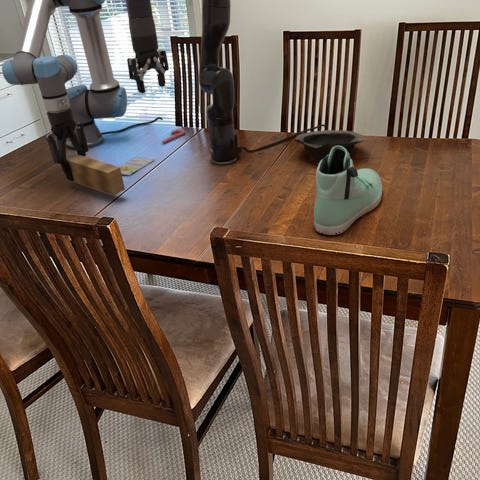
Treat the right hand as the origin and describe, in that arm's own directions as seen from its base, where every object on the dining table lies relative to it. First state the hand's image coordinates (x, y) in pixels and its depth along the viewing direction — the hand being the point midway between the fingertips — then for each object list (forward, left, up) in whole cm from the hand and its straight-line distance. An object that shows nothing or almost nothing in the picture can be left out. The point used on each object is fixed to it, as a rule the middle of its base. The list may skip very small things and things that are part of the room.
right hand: (152, 89), depth 149 cm
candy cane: (-24, -37, -31) cm, 54 cm away
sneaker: (-27, +57, -31) cm, 71 cm away
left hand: (+24, -17, -27) cm, 40 cm away
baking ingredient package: (+3, -21, -31) cm, 37 cm away
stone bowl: (-53, +25, -31) cm, 67 cm away
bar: (+22, -9, -28) cm, 37 cm away
